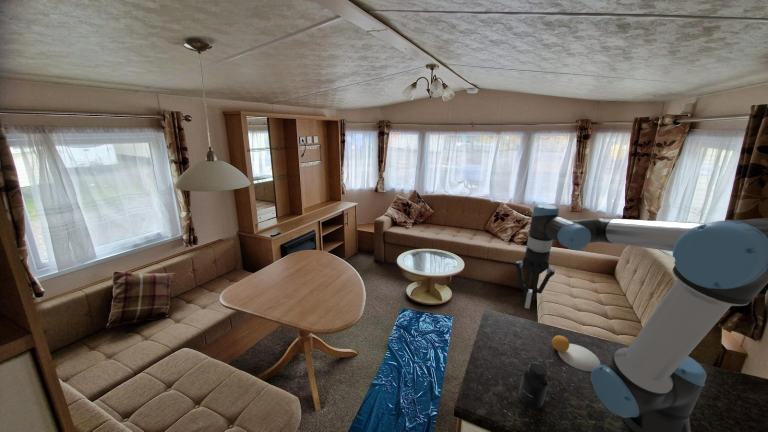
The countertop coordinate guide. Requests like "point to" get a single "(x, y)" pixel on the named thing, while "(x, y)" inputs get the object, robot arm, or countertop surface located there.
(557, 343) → the ball
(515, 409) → the countertop surface
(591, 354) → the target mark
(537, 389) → the supplement bottle
